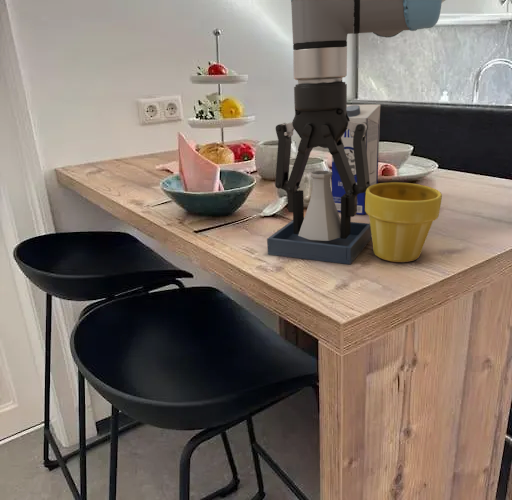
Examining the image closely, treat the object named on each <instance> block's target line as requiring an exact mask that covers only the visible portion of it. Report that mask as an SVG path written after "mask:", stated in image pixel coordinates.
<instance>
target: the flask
mask: <svg viewBox="0 0 512 500" xmlns="http://www.w3.org/2000/svg"><path fill="white" fill-rule="evenodd" d="M310 178H311V179H312V186H311V187H312V188H311V193H310V199H309V202H308V206H307V209H306V211H305V214H304V220H303V223H302V226H301V229H300V232H299V235H298V236H301V237H304V238H306V239H309V240H322V241H330V240H333V239H336V238H340V237H341V215H340V214H339V213H340V212H338V211H337V208H336V205H335V202H334V199H333V196H332V185H331V178H332V171H330V170H315V171H312V172H310Z"/></svg>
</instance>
